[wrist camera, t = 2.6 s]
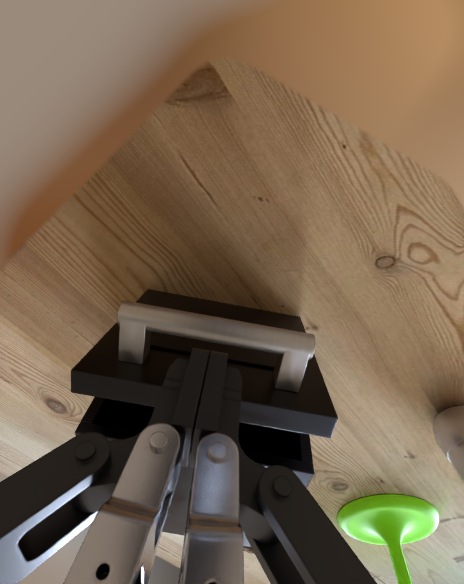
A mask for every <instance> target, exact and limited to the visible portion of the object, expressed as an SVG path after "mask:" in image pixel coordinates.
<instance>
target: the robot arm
mask: <svg viewBox="0 0 464 584" xmlns="http://www.w3.org/2000/svg"><path fill="white" fill-rule="evenodd" d="M209 353H210V351H209V350H204V349H198V348H192V351H191V355H190V358H189V360H187V359H181V358H177V359H176V360H175V361H174V362H173V363H172V364H171V365H170V366H169V369H168V371H167V374H166V377H165V380H164V383H163V385H162V388H161V391H160V394H159V397H158V399H157V402H156V405H155V408H154V411H153V414H152V416H151V419H150V421H149V423H148V425H147V426H146V428H145V429H144V430H143V431H141V432H140V433H139V434H137V435H135V436H133V437H130V438H126V439H119V440H112V441H108V439H107V438H106V437H105V436H104V435H103V434H101V433H98V432H86V433H82V434H79V435H77V436H76V437H74V438H72V439H71V440H69V441H67V442H66V443H64V444H62V445H61V446H59V447H57V448H56V449H54V450H52V451H51V452H49V453H47V454H46V455H44V456H43V457H41V458H39V459H38V460H36V461H34V462H33V463H31V464H29V465H28V466H26V467H24V468H23V469H21V470H19V471H18V472H16V473H15V474H13V475H11V476H10V477H8V478H6V479H5V480H3V481H1V482H0V584H17V583H19V582H20V581H21V580H22V579H23V578H25V577H26V576H27V575H28V574H30V573H31V572H32V571H33V570H34V569H36V568H37V567H38V566H39V565H41V564H42V563H43V562H44V561H45V560H47V559H48V558H49V557H50V556H52V555H53V554H54V553H55V552H56V551H58V550H59V549H60V548H61V547H63V546H64V545H65V544H66V543H67V542H68V541H70V540H71V539H72V538H73V537H75V536H76V535H77V534H78V533H80V532H81V531H82V530H83V529H85V528H86V527H87V526H88V525H89V524H91V523H92V524H91V527H90V529H89V531H88V533H87V535H86V537H85V539H84V541H83V543H82V546H81V547H80V550H79V552H78V554H77V556H76V558H75V560H74V562H73V564H72V566H71V568H70V571H69V573H68V575H67V577H66V579H65V581H64V583H63V584H148V582H149V578H150V574H151V571H152V567H153V562H154V558H155V554H156V550H157V547H158V543H159V540H160V537H161V533H162V530H163V527H164V523H165V520H166V517H167V514H168V510H169V507H170V504H171V500H172V497H173V494H174V490H175V487H176V485H177V482H178V478H179V474H180V469H181V466H186V467H187V465H188V460H189V455H190V451H191V457H190V464H189V467H193V468H194V469H193V475H192V481H191V487H190V494H189V502H188V510H187V519H186V527H185V535H184V544H183V552H182V560H181V567H180V575H179V582H178V584H244V556H243V532H244V533H245V536H246V538H247V540H248V542H249V544H250V546H251V548H252V550H253V551H254V553H255V555H256V557H257V559H258V561H259V562H260V564H261V566H262V568H263V570H264V572H265V573H266V575H267V577H268V579H269V581H270V583H271V584H377V583H376V582H375V580H374V579H373V578H372V576H371V575H370V574H369V572H368V571H367V569H366V568H365V567H364V565H363V564H362V563H361V561H360V560H359V559H358V557H357V556H356V555H355V553H354V552H353V551H352V549H351V548H350V546H349V545H348V544H347V542H346V541H345V540H344V538H343V537H342V536H341V534H340V533H339V532H338V530H337V529H336V528H335V526H334V525H333V524H332V522H331V521H330V519H329V518H328V517H327V515H326V514H325V513H324V511H323V510H322V509H321V507H320V506H319V505H318V503H317V502H316V501H315V499H314V498H313V497H312V495H311V494H310V492H309V491H308V490H307V488H306V487H305V486H304V484H303V483H302V482H301V480H300V479H299V478H298V476H297V475H296V474H295V473H294V472H293V471H292V470H290V469H289V468H287V467H284V466H280V465H274V466H270V467H268V468H265V467H264V466H262V465H260V464H258V463H256V462H254V461H253V460H251V459H250V458H249V457H248V456H247V455H246V454H245V453H244V452H243V450H242V449H241V447H240V444H239V439H238V434H239V421H240V408H241V395H242V382H243V379H242V376H241V374H240V371H239V369H238V368H232V367H227V359H228V354H227V353H221V352H216V351H211V354H210V359H209ZM208 359H209V364H208ZM207 366H208V368H207ZM206 372H207V373H206ZM193 436H194V437H193ZM192 441H193V444H192ZM191 446H192V450H191Z"/></svg>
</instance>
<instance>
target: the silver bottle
mask: <svg viewBox="0 0 464 584" xmlns="http://www.w3.org/2000/svg"><path fill="white" fill-rule="evenodd" d="M433 432H434V436H435V439H436V442H437V444H438V445H439V447H440V448H441V450H442V451H443V453H444V454H445V456H446V457H447V458H448V459H449V461H450V462H451V463H452V465H453V466H454V468H455V470H456V471H457V473H458V475H459V476H460V478H461V480H462V481H463V483H464V406H455V407H451V408H448V409H445V410H443V411H442V412H440V413H439V414H438V415H437V416H436V417H435V419H434V423H433Z"/></svg>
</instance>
